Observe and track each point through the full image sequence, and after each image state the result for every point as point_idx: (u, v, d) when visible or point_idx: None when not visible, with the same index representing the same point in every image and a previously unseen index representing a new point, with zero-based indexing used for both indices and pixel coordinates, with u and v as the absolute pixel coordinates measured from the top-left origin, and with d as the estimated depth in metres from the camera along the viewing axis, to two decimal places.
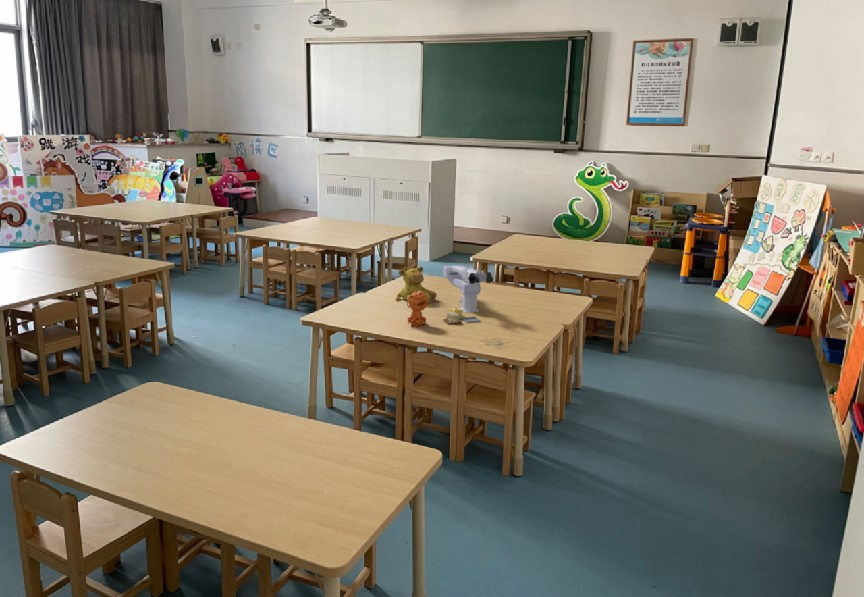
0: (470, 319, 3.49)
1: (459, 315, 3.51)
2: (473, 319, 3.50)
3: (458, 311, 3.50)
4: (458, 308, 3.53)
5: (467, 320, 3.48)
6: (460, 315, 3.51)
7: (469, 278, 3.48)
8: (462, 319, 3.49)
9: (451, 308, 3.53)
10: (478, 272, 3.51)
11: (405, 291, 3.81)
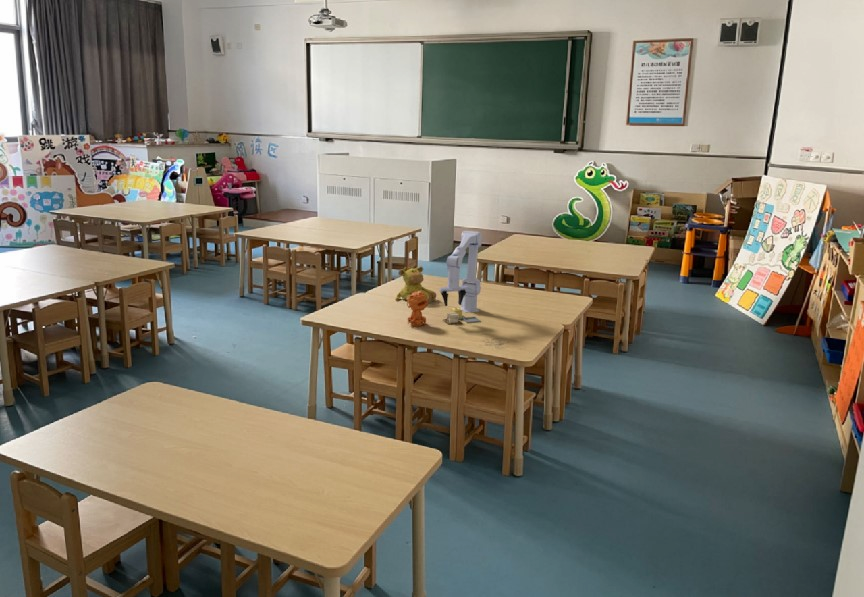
0: (470, 319, 3.49)
1: (459, 315, 3.51)
2: (473, 319, 3.50)
3: (458, 311, 3.50)
4: (458, 308, 3.53)
5: (467, 320, 3.48)
6: (460, 315, 3.51)
7: (441, 292, 3.38)
8: (462, 319, 3.49)
9: (451, 308, 3.53)
10: None
11: (405, 291, 3.81)
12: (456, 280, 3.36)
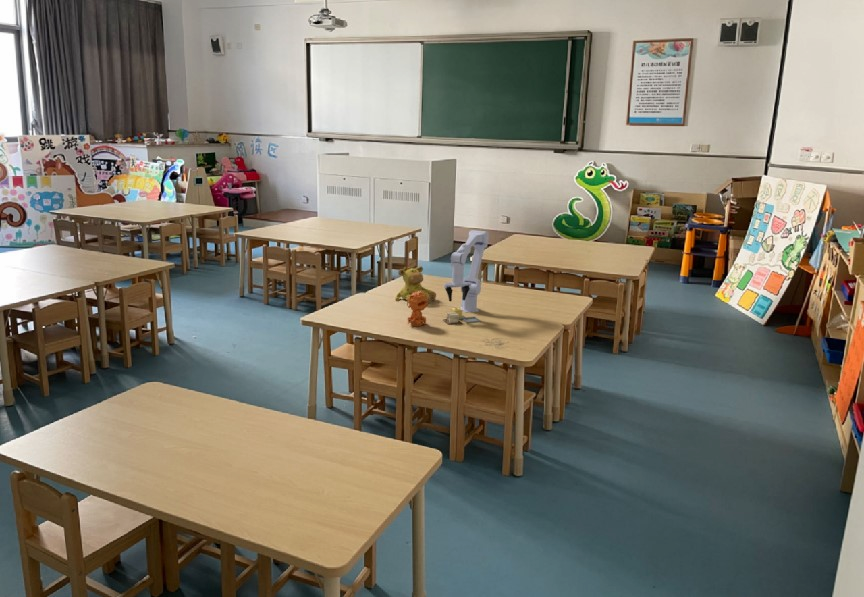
0: (470, 319, 3.49)
1: (459, 315, 3.51)
2: (473, 319, 3.50)
3: (458, 311, 3.50)
4: (458, 308, 3.53)
5: (467, 320, 3.48)
6: (460, 315, 3.51)
7: (446, 288, 3.47)
8: (462, 319, 3.49)
9: (451, 308, 3.53)
10: None
11: (405, 291, 3.82)
12: (460, 276, 3.45)
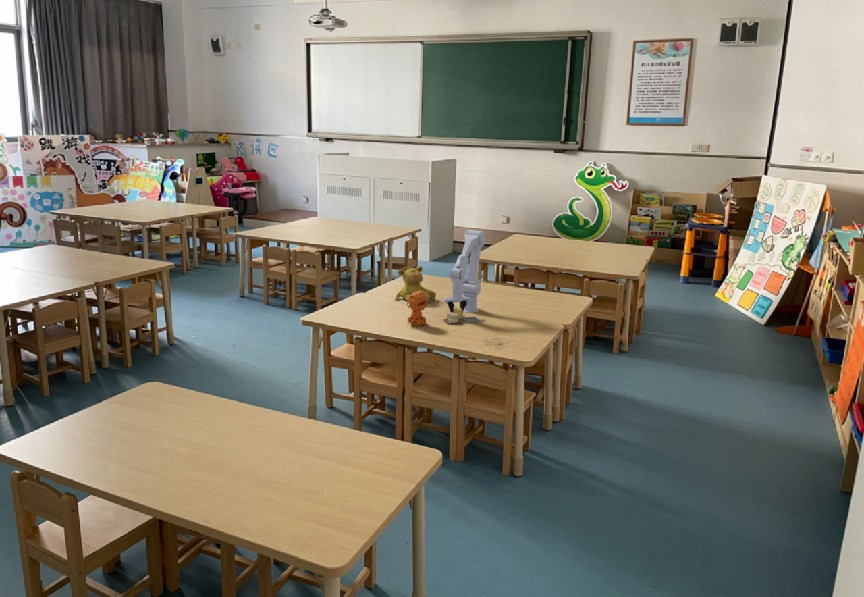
0: (470, 319, 3.49)
1: (459, 315, 3.51)
2: (473, 319, 3.50)
3: (458, 311, 3.50)
4: (458, 308, 3.53)
5: (467, 320, 3.48)
6: (460, 315, 3.51)
7: (448, 303, 3.49)
8: (462, 319, 3.49)
9: None
10: (458, 301, 3.48)
11: (404, 291, 3.82)
12: (460, 291, 3.47)
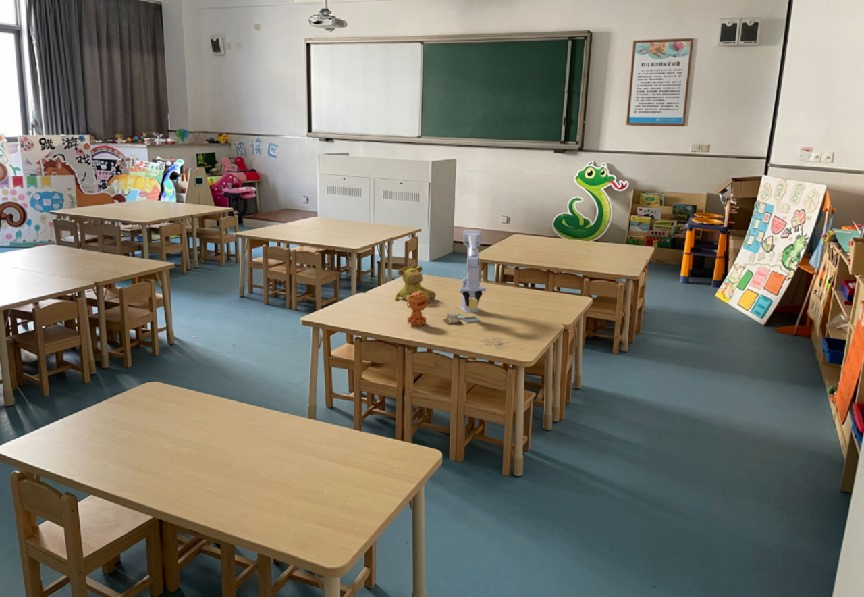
0: (470, 319, 3.49)
1: (474, 305, 3.44)
2: (473, 319, 3.50)
3: (473, 301, 3.43)
4: (473, 298, 3.46)
5: (467, 320, 3.48)
6: (475, 305, 3.44)
7: (463, 293, 3.42)
8: (462, 319, 3.49)
9: None
10: (473, 290, 3.41)
11: (404, 291, 3.82)
12: (475, 281, 3.40)
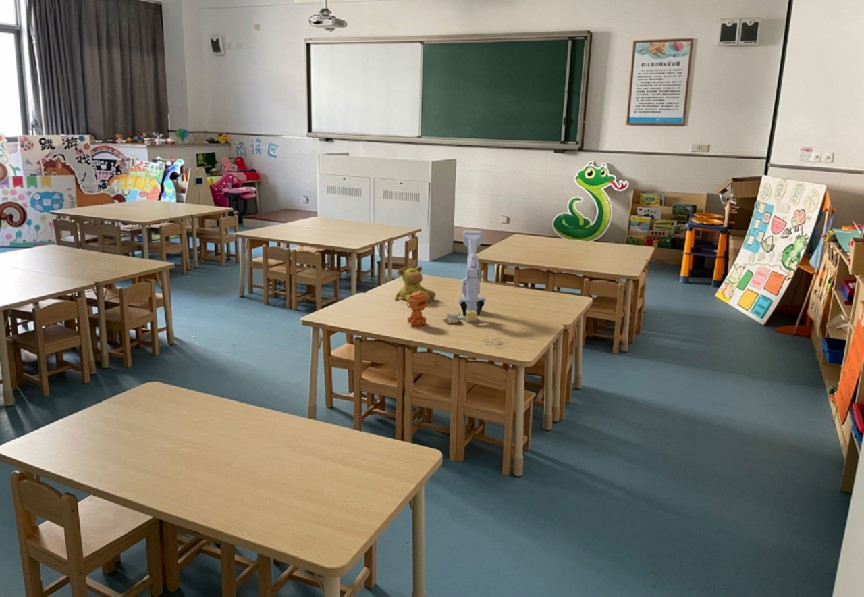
0: None
1: (474, 318, 3.46)
2: None
3: (473, 314, 3.45)
4: (473, 311, 3.48)
5: None
6: (475, 318, 3.46)
7: (460, 303, 3.43)
8: (462, 319, 3.49)
9: (466, 311, 3.48)
10: (473, 301, 3.42)
11: (404, 291, 3.82)
12: (475, 291, 3.41)
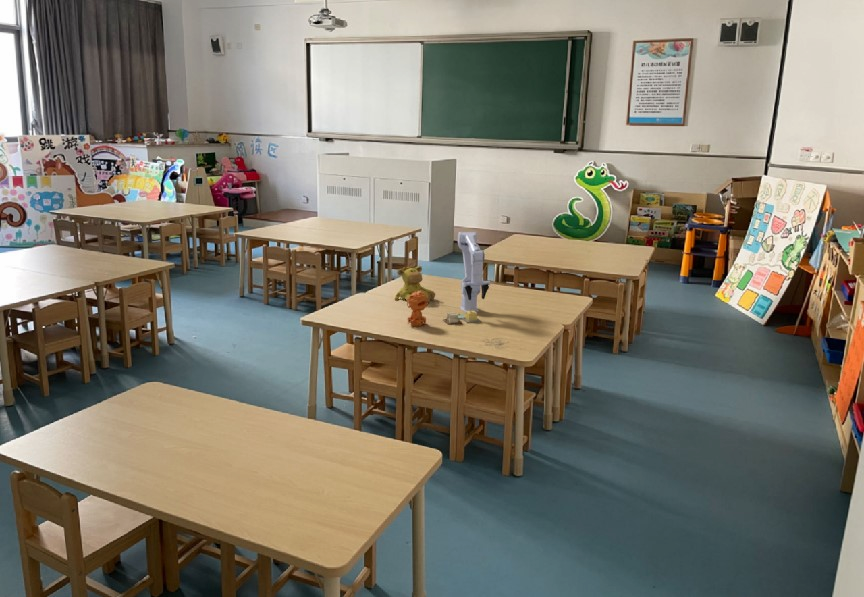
0: None
1: (474, 318, 3.46)
2: None
3: (473, 314, 3.45)
4: (473, 311, 3.48)
5: None
6: (475, 318, 3.46)
7: (465, 287, 3.48)
8: (462, 319, 3.49)
9: (466, 311, 3.48)
10: (478, 284, 3.47)
11: (404, 291, 3.82)
12: (480, 274, 3.46)
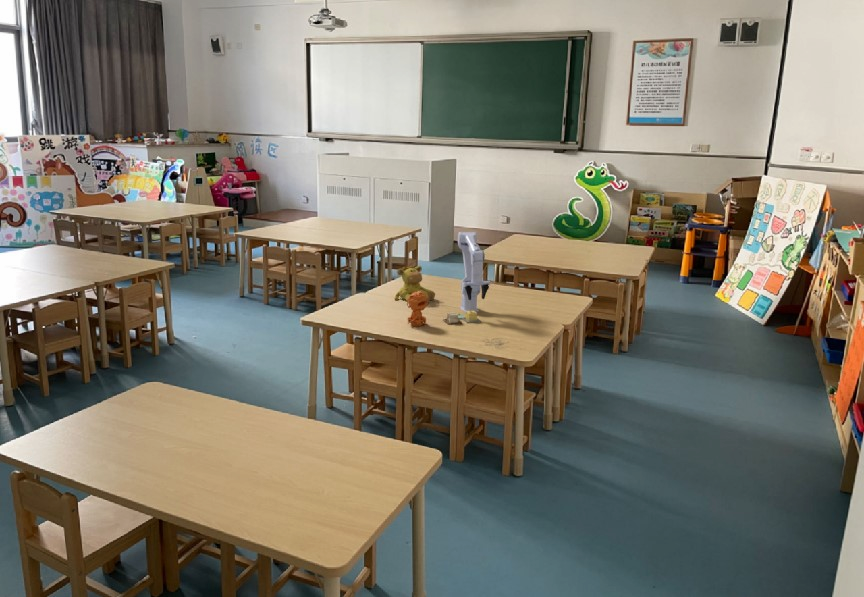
0: None
1: (474, 318, 3.46)
2: None
3: (473, 314, 3.45)
4: (473, 311, 3.48)
5: None
6: (475, 318, 3.46)
7: (465, 287, 3.48)
8: (462, 319, 3.49)
9: (466, 311, 3.48)
10: (478, 284, 3.47)
11: (404, 291, 3.82)
12: (480, 274, 3.46)
